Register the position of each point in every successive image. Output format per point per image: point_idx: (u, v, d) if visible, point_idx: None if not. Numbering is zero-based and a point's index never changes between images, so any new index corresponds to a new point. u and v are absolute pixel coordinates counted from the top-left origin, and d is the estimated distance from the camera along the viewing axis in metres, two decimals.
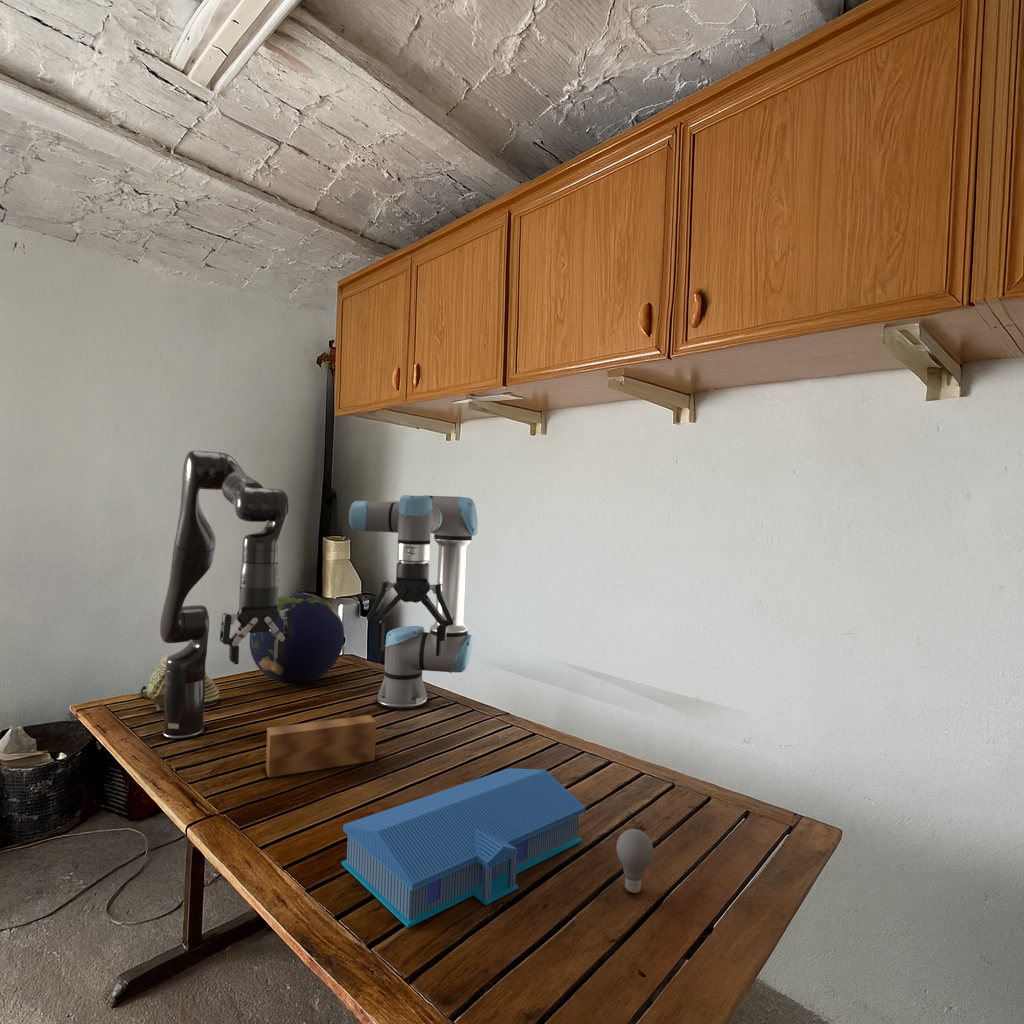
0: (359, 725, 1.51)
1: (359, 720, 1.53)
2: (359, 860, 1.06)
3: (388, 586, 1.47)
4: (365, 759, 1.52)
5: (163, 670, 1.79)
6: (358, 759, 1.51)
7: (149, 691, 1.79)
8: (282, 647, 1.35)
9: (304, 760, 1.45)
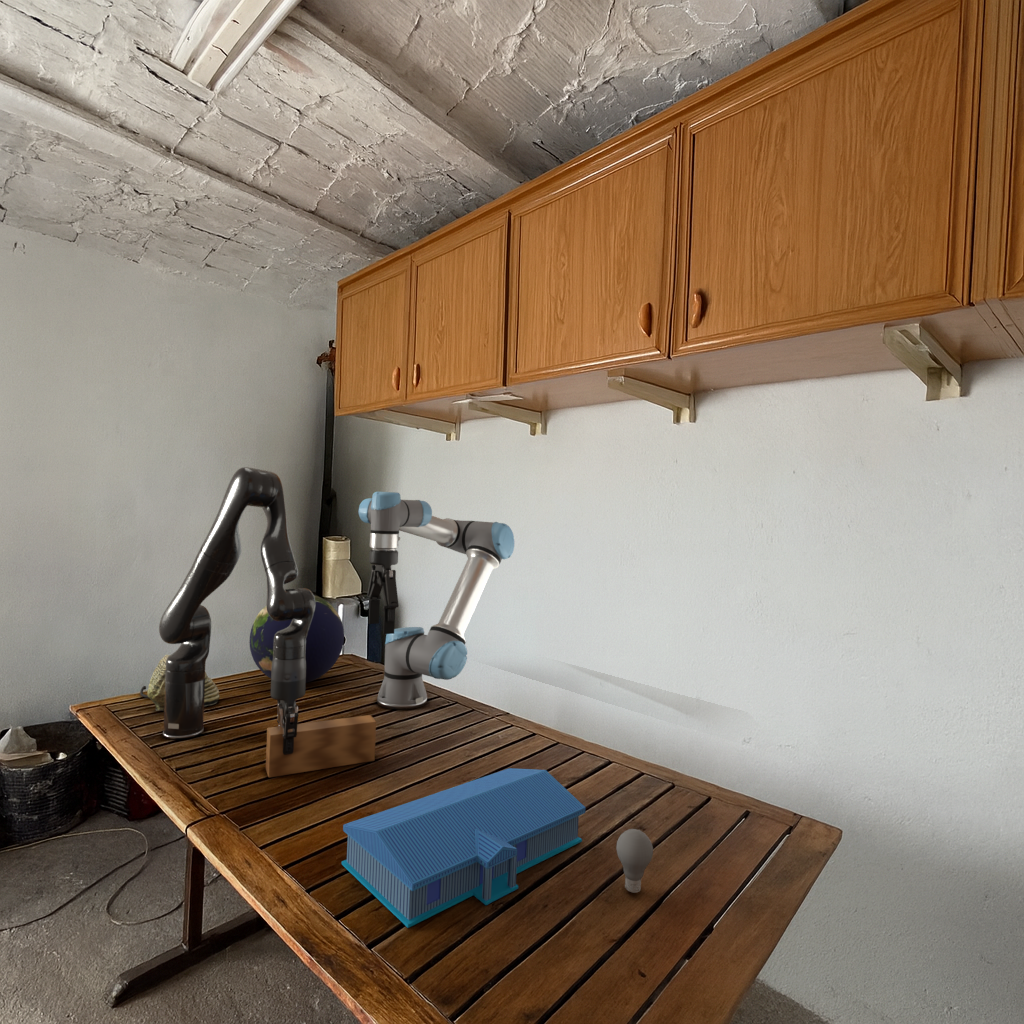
0: (359, 725, 1.51)
1: (359, 720, 1.53)
2: (359, 860, 1.06)
3: None
4: (365, 759, 1.52)
5: (163, 670, 1.79)
6: (358, 759, 1.51)
7: (149, 691, 1.79)
8: (285, 744, 1.42)
9: (304, 760, 1.45)
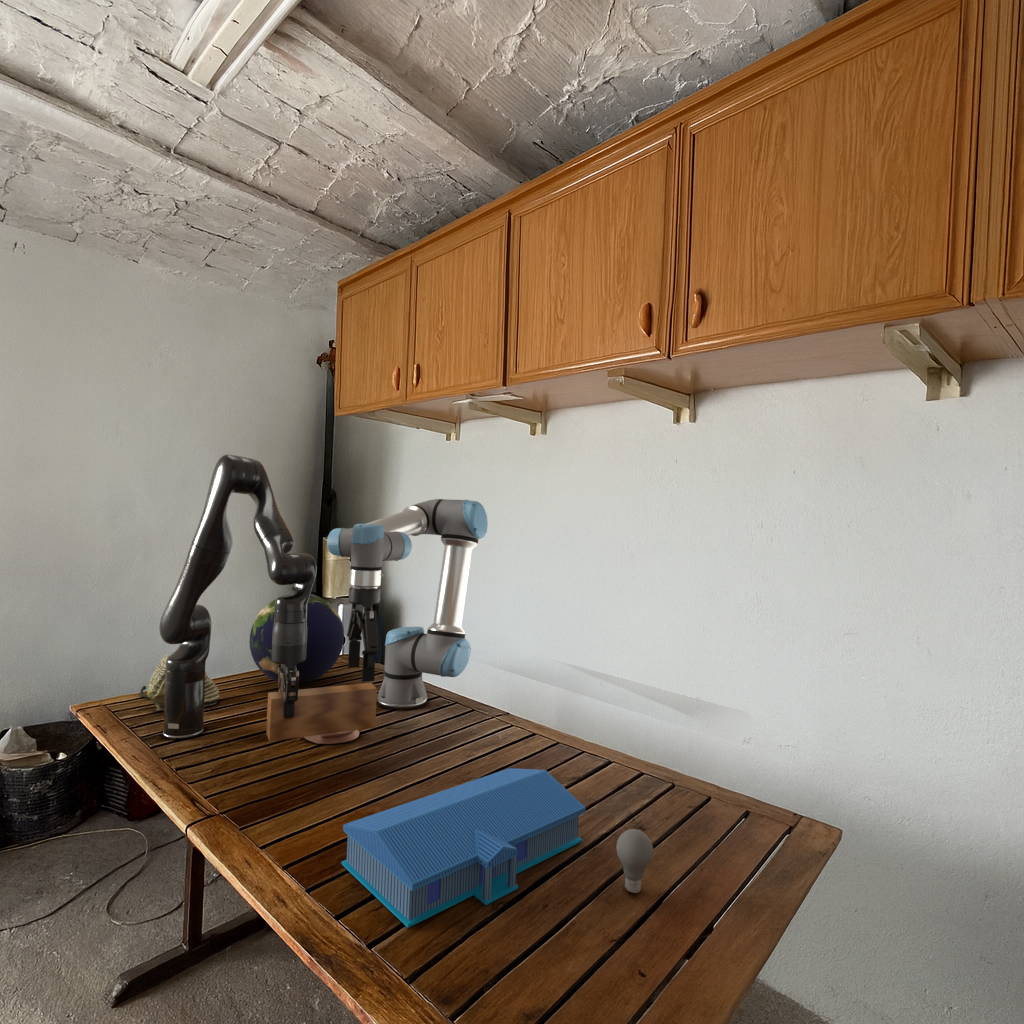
0: (360, 691, 1.51)
1: (360, 687, 1.53)
2: (359, 860, 1.06)
3: None
4: (365, 725, 1.52)
5: (163, 670, 1.79)
6: (359, 726, 1.51)
7: (149, 691, 1.79)
8: (286, 708, 1.42)
9: (305, 725, 1.45)
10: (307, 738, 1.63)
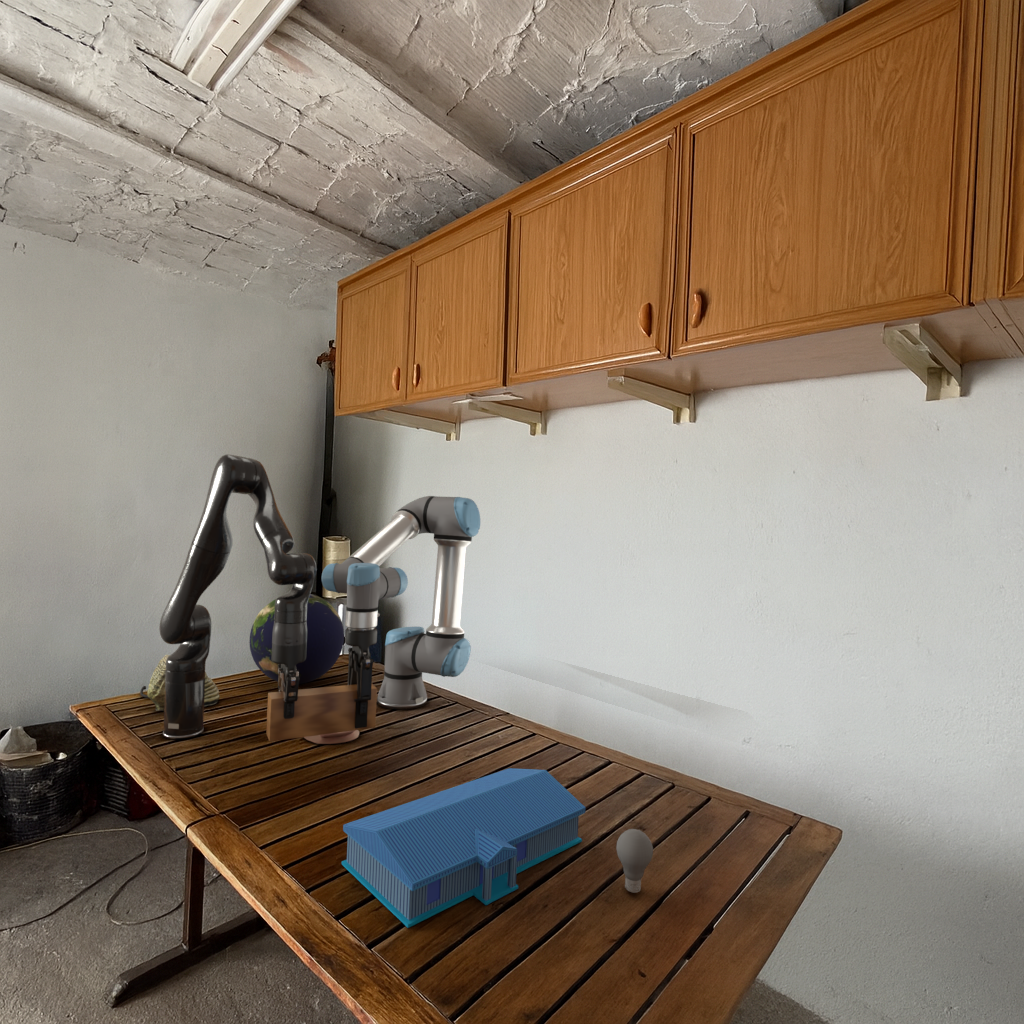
0: None
1: None
2: (359, 860, 1.06)
3: None
4: None
5: (163, 670, 1.79)
6: None
7: (149, 691, 1.79)
8: (286, 708, 1.42)
9: (305, 725, 1.45)
10: (307, 738, 1.63)
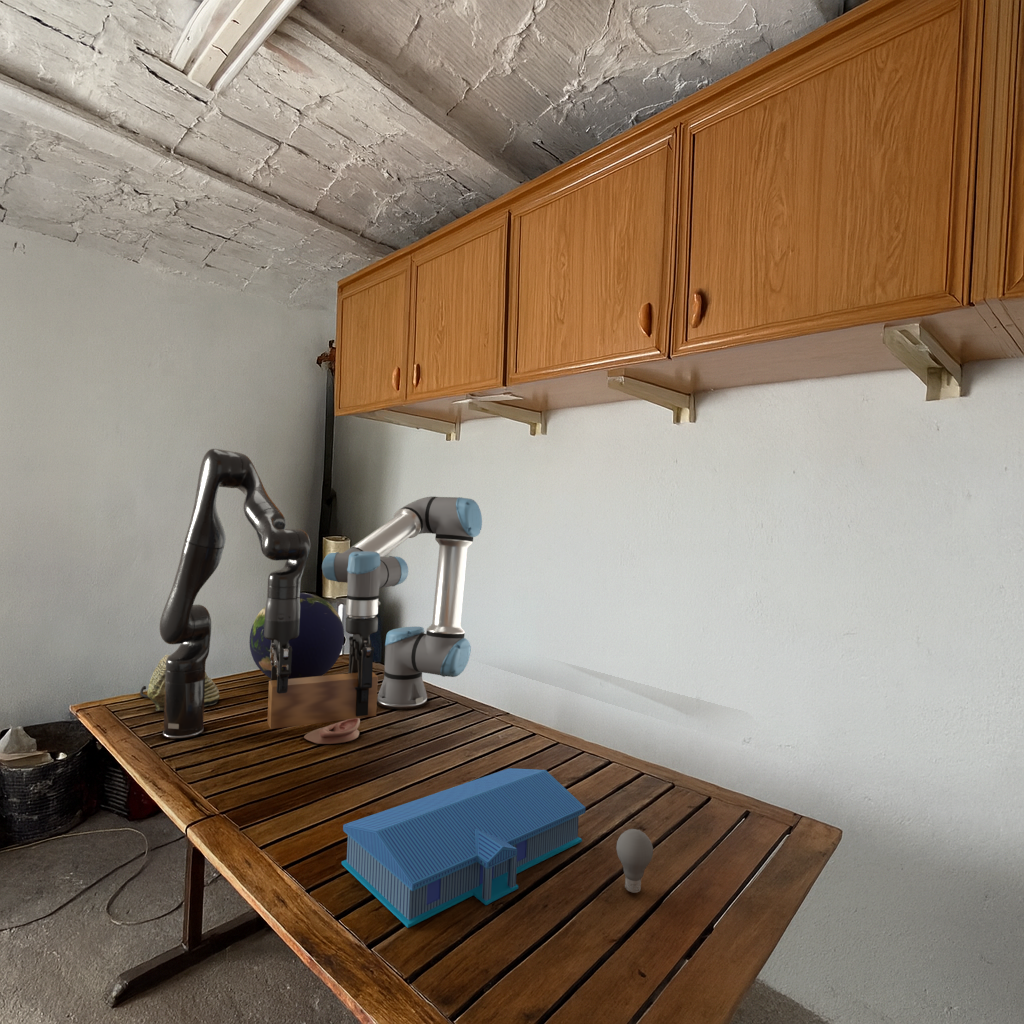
0: None
1: None
2: (359, 860, 1.06)
3: None
4: None
5: (163, 670, 1.79)
6: None
7: (149, 691, 1.79)
8: (279, 683, 1.39)
9: (306, 713, 1.45)
10: (307, 738, 1.63)
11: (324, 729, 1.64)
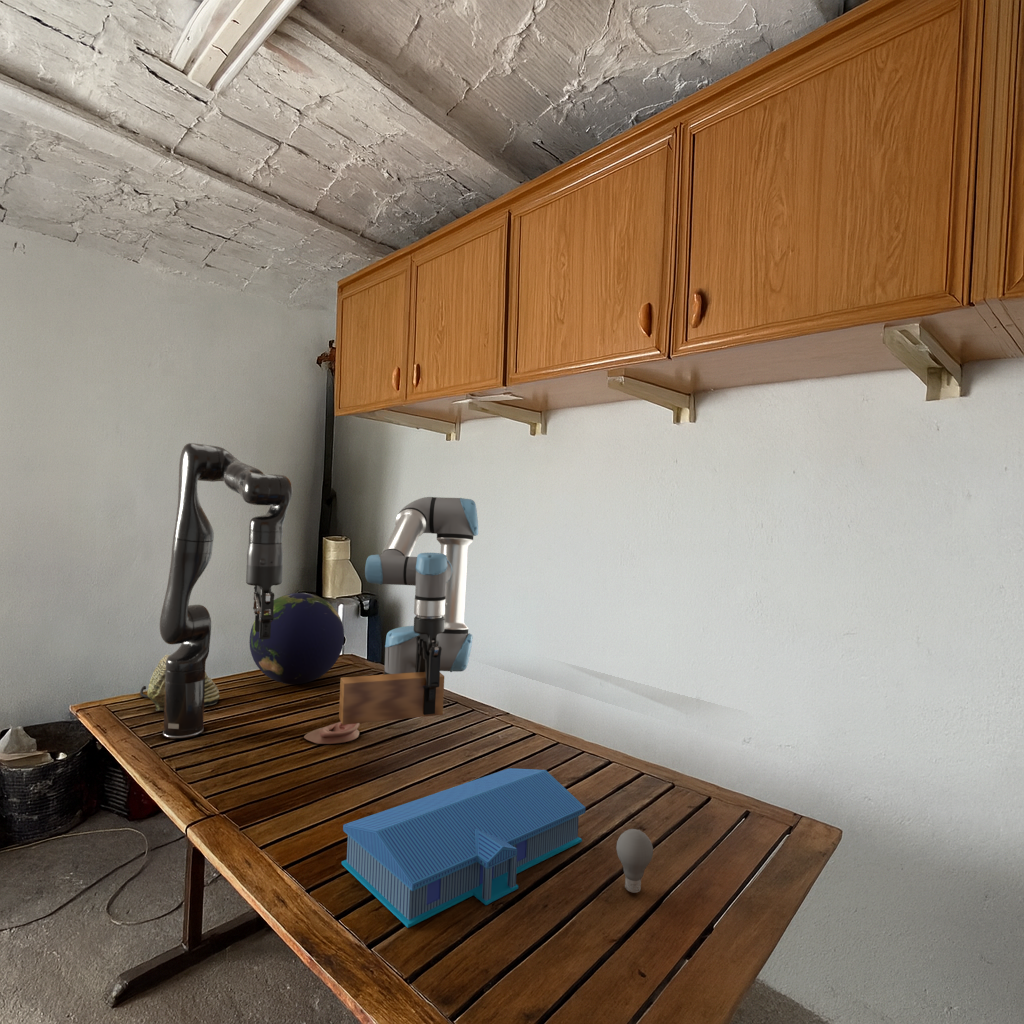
0: None
1: None
2: (359, 860, 1.06)
3: None
4: None
5: (163, 670, 1.79)
6: None
7: (149, 691, 1.79)
8: (262, 629, 1.37)
9: (376, 710, 1.49)
10: (307, 738, 1.63)
11: (324, 729, 1.64)
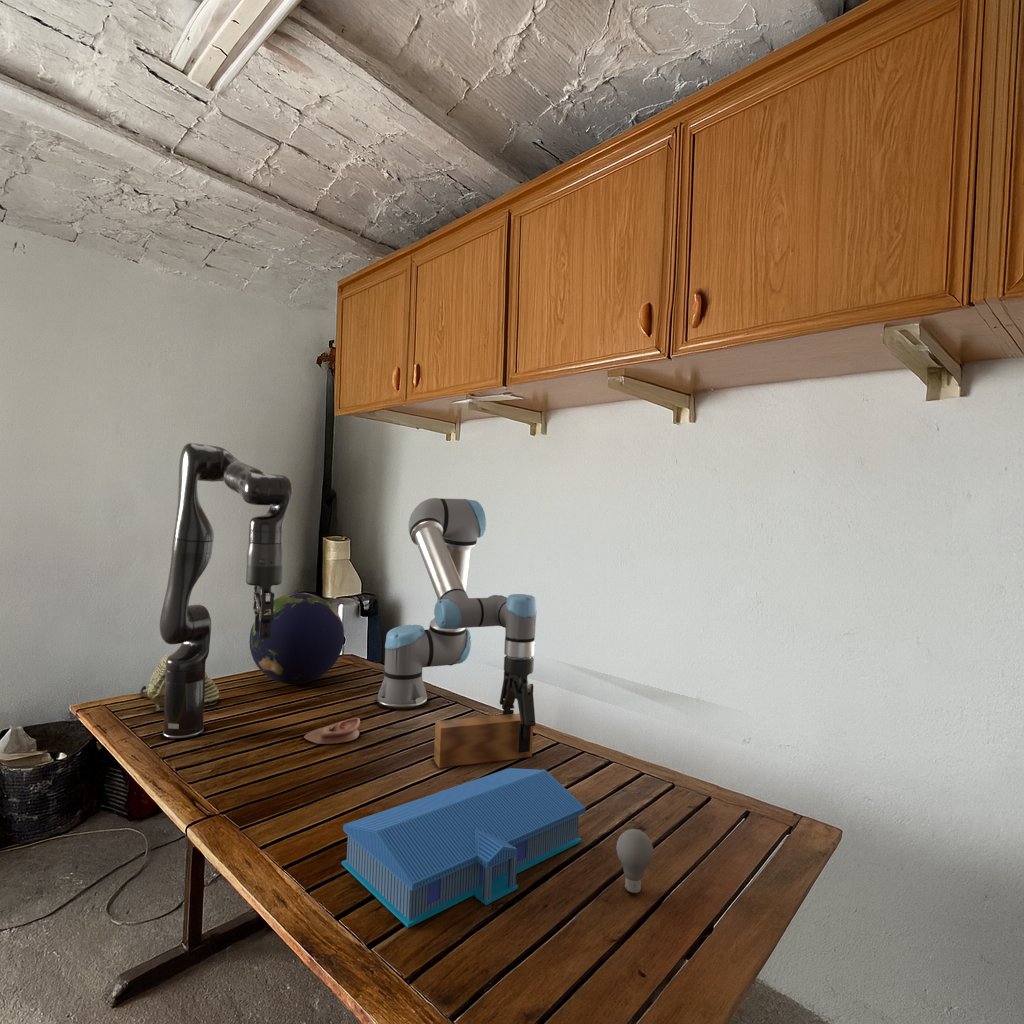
0: (518, 721, 1.58)
1: (518, 717, 1.60)
2: (359, 860, 1.06)
3: None
4: (523, 754, 1.59)
5: (163, 670, 1.79)
6: (518, 755, 1.58)
7: (149, 691, 1.79)
8: (262, 629, 1.37)
9: (470, 753, 1.53)
10: (307, 738, 1.63)
11: (324, 729, 1.64)
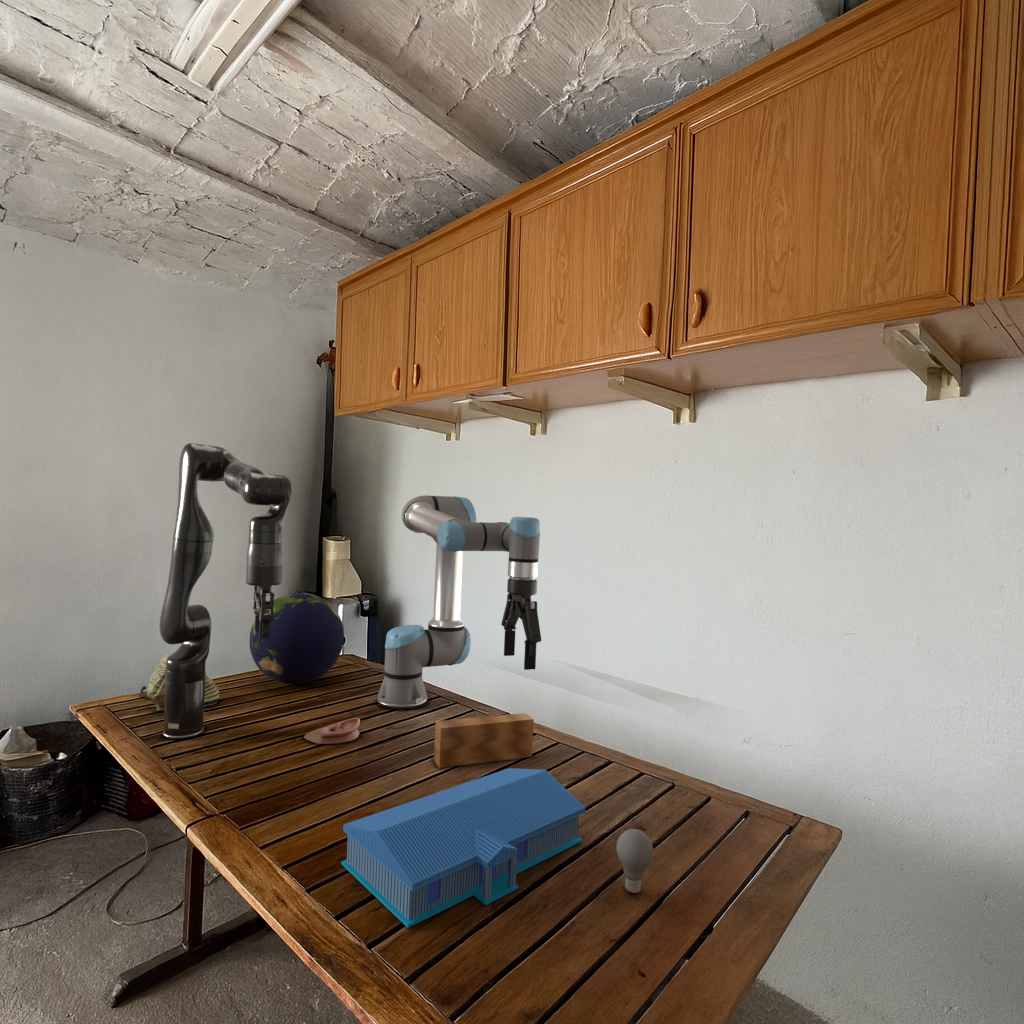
0: (518, 721, 1.58)
1: (518, 717, 1.60)
2: (359, 860, 1.06)
3: None
4: (523, 754, 1.59)
5: (163, 670, 1.79)
6: (518, 755, 1.58)
7: (149, 691, 1.79)
8: (262, 629, 1.37)
9: (470, 753, 1.53)
10: (307, 738, 1.63)
11: (324, 729, 1.64)
